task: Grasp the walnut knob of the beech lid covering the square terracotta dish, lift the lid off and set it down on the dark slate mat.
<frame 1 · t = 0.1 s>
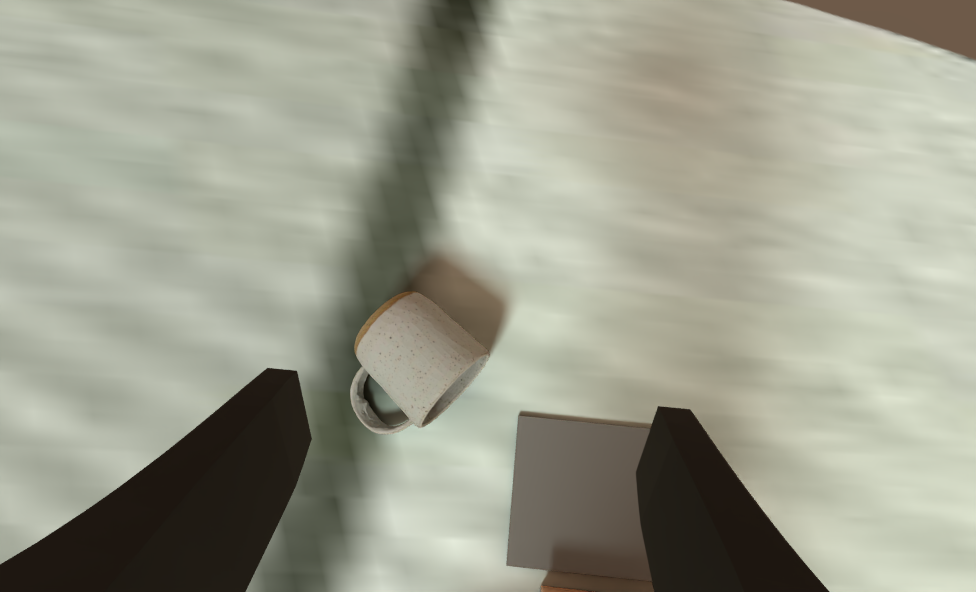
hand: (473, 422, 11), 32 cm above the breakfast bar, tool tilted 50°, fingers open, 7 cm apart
ceramic mug: (417, 375, 43), on the breakfast bar
mat: (595, 496, 40), on the breakfast bar
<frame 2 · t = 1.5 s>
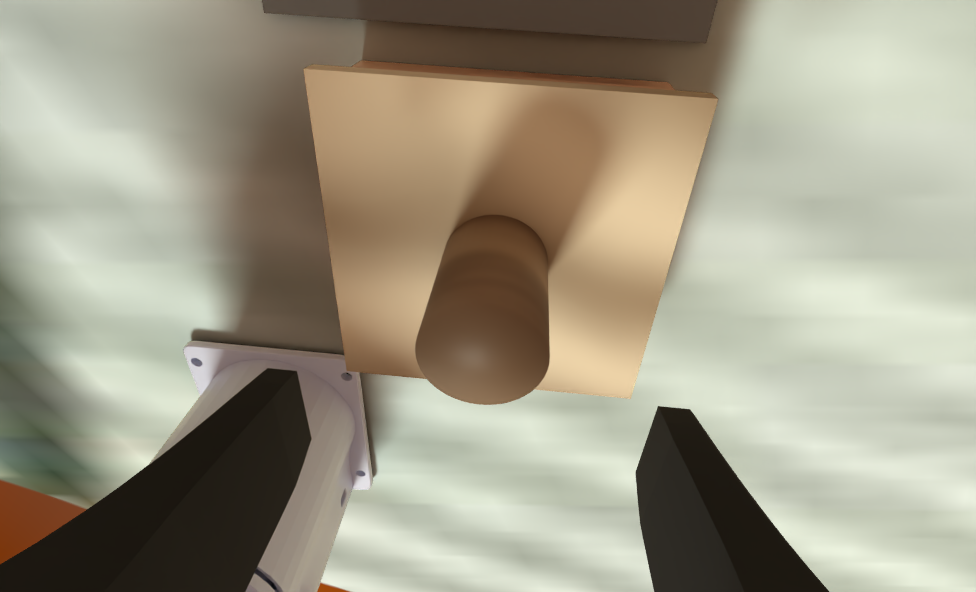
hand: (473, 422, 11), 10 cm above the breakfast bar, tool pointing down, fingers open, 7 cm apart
lid: (496, 252, 16), point 3 cm above the breakfast bar, touching dish
dish: (502, 211, 19), on the breakfast bar
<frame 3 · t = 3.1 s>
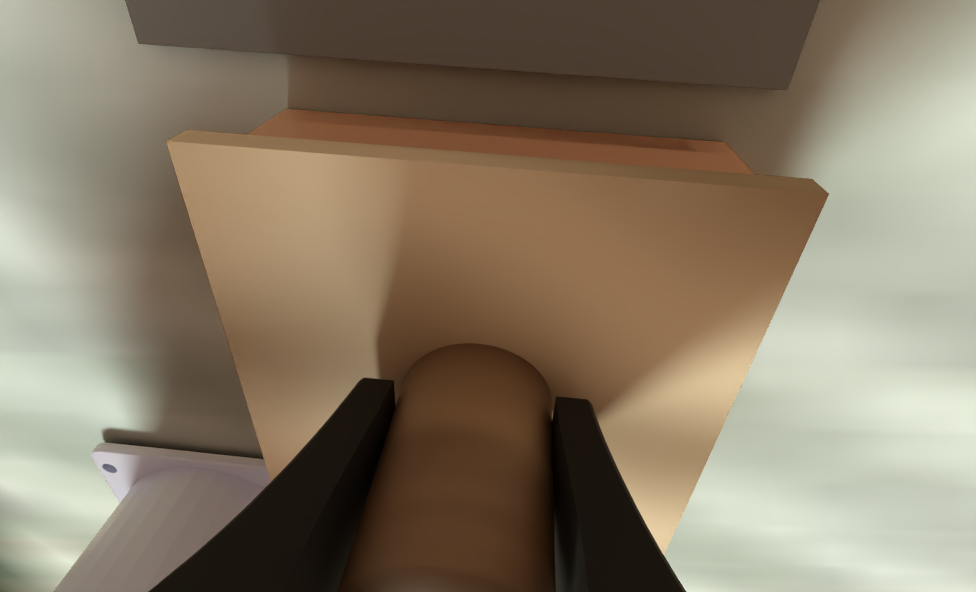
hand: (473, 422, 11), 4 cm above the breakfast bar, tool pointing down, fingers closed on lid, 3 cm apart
lid: (478, 381, 12), point 3 cm above the breakfast bar, touching dish, gripper
dish: (490, 303, 14), on the breakfast bar
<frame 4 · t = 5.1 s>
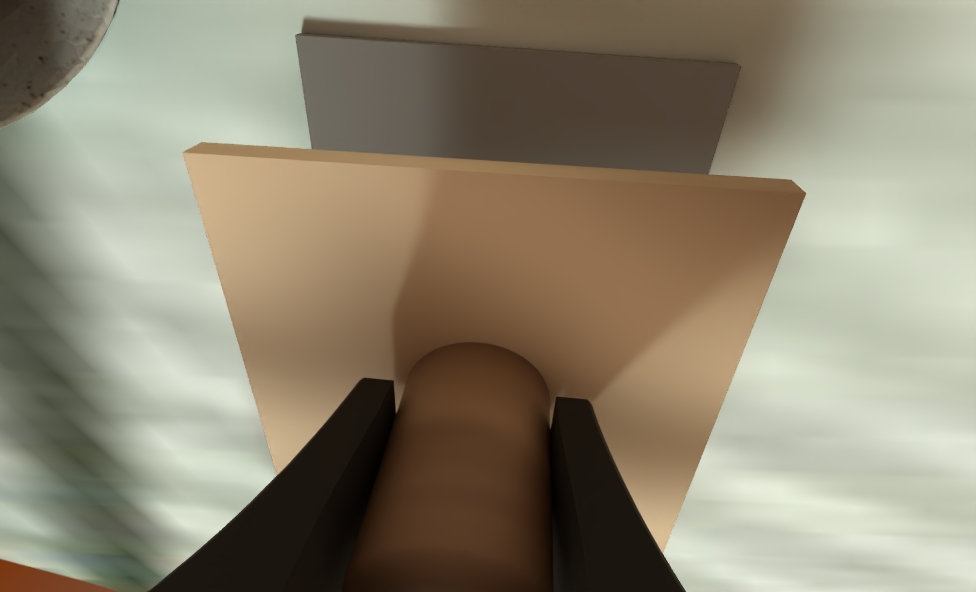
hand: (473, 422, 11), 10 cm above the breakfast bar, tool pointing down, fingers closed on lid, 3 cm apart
lid: (479, 380, 12), point 8 cm above the breakfast bar, touching gripper
mat: (502, 216, 18), on the breakfast bar
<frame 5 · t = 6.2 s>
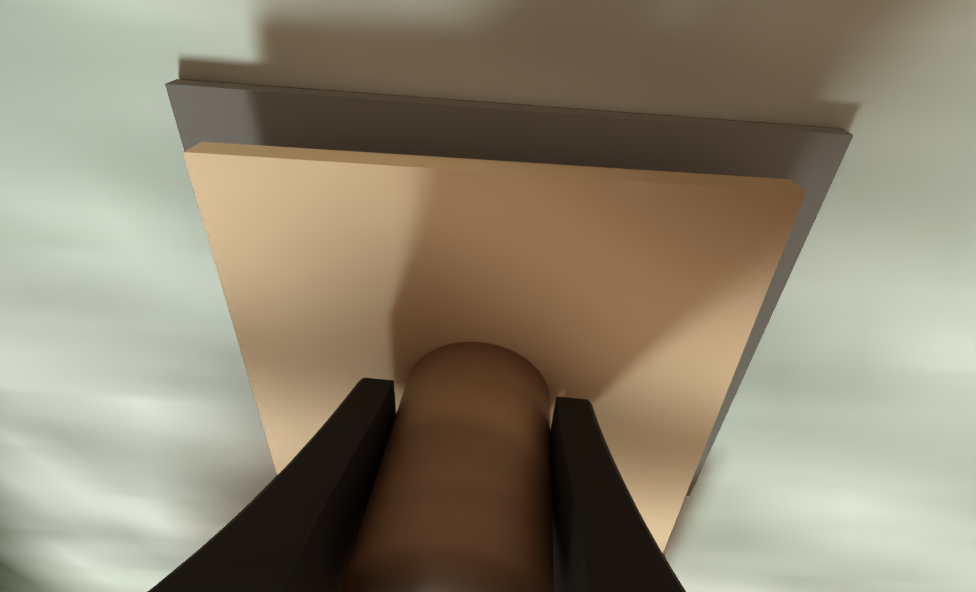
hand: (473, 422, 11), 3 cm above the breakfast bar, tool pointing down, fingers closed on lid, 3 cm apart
lid: (479, 380, 12), point 2 cm above the breakfast bar, touching gripper
mat: (487, 325, 13), on the breakfast bar
when the fingers open (3 cm above the breakfast bar, at t = 6.9 s): lid drops 1 cm, resting on mat.
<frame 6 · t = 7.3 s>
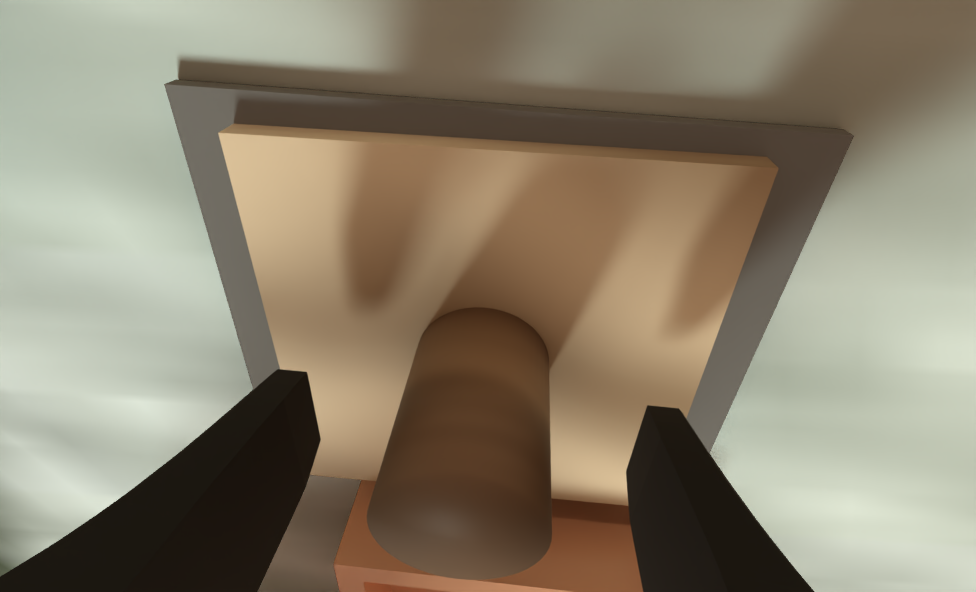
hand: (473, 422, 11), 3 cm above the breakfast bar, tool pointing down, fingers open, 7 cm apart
lid: (484, 345, 13), resting on mat
mat: (486, 326, 13), on the breakfast bar
dish: (498, 566, 20), on the breakfast bar
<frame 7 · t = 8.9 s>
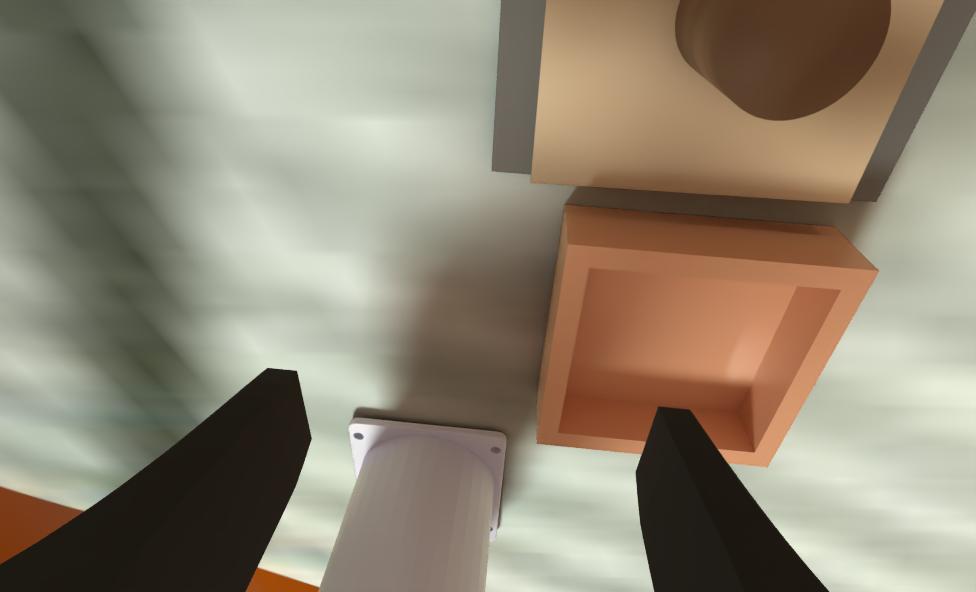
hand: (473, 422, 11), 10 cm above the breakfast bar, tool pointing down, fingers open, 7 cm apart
lid: (729, 13, 15), resting on mat
mat: (728, 0, 15), on the breakfast bar
dish: (665, 321, 21), on the breakfast bar
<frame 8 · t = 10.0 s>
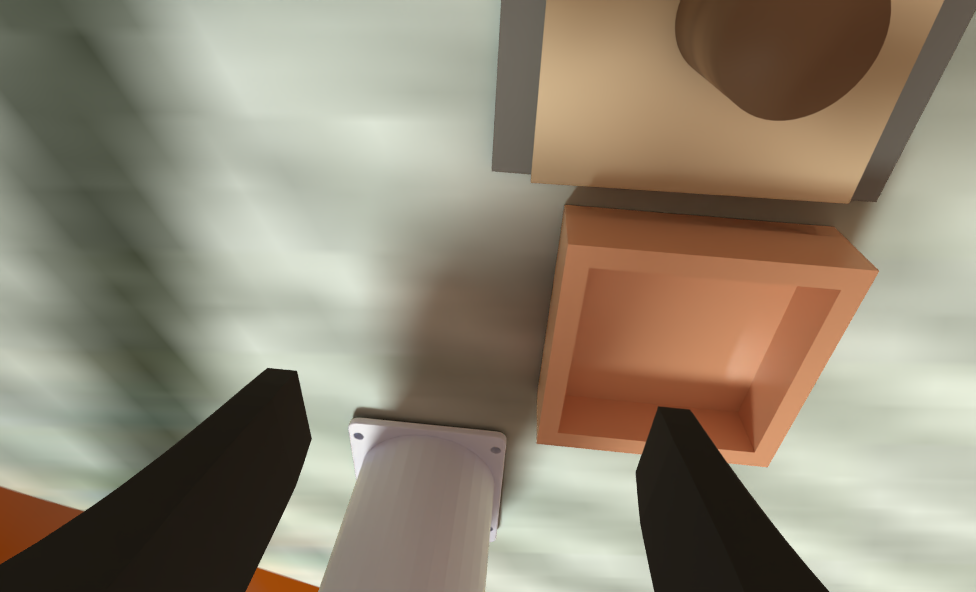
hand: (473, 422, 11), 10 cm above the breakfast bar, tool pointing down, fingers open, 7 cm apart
lid: (729, 13, 15), resting on mat
mat: (728, 0, 15), on the breakfast bar
dish: (665, 321, 21), on the breakfast bar
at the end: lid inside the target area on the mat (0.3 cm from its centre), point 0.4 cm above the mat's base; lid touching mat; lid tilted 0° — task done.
